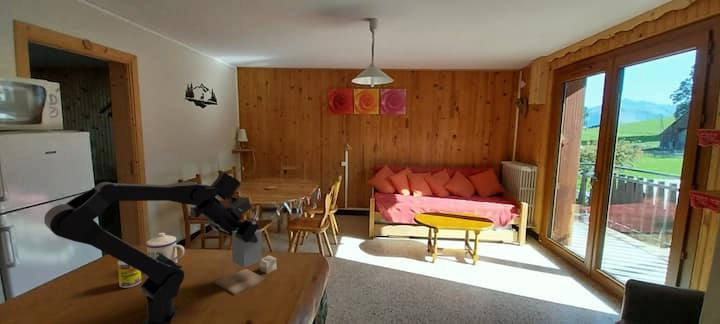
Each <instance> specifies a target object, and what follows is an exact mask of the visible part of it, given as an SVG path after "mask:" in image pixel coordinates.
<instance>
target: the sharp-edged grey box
mask: <svg viewBox="0 0 720 324" xmlns="http://www.w3.org/2000/svg"><path fill="white" fill-rule="evenodd" d="M236 232H237V230H236V231H234V232H232V235H231V237H232V238H231V242H232V243H231V249H232V257H231V258H232V263H235V264H237V265H238V266H240V267H242V268H246V267H250V266H252V265H253V264H256V263H260V261H262V258H263V252H262V250H263V249H262V248H263V247H262V246H263V245H262V243H263V242H262V241H263V240H262V237H263V236H262V233H263V231H262V230H259V229H257V231H256V232H255V235H256V237H257V239H258V241H257V243H253V242H247V243H246V242H243V241H240V240H238V238H236Z"/></svg>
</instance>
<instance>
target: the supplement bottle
mask: <svg viewBox="0 0 720 324" xmlns="http://www.w3.org/2000/svg"><path fill="white" fill-rule="evenodd" d="M117 270H118V283H119V284H118V285H119V287H120V288H123V289H124V288H125V289H127V288H132V287H135V286H138V285H139V284H141V282H142V272H141V271H139V270H137V269H135V268H133V267H131V266H130V265H128V264H126V263H124V262H122V261H120V260H118V261H117Z"/></svg>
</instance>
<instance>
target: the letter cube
mask: <svg viewBox="0 0 720 324" xmlns="http://www.w3.org/2000/svg"><path fill="white" fill-rule="evenodd" d="M277 268H278V267H277V258H276V257H273V256H272V255H267V256H264V257H262V261H260V262H259V271H261V272H263V273H265V274H270V273H272V272H273V271H276V270H277Z"/></svg>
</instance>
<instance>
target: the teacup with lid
mask: <svg viewBox="0 0 720 324" xmlns="http://www.w3.org/2000/svg"><path fill="white" fill-rule="evenodd" d="M177 241H178V239H177V238H176V236H174V235H167V234H166V233H165V232H159V233H158V234H157V236H155V237H153V238H151V239H149V240H148V241H147V242H146V243H145V246H146V250H147V252H146V253H147V255H148V256H150V257H154V258H157V257H158V256H159V254H160V253H161V254H162V255H164V256H165V257H167V258H169V259H171V260H173V261H174V262H176V263H178V259H181V258H182V257H183V256H184V255H185V247H184V246H183V245H181V244H177ZM177 249H180V251H181V252H180V255H178V250H177Z"/></svg>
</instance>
